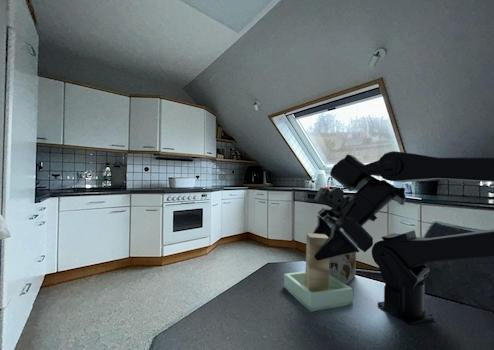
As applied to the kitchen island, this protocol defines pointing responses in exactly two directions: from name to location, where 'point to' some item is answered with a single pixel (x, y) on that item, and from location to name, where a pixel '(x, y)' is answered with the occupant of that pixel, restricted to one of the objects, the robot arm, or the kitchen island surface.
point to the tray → (319, 300)
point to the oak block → (316, 264)
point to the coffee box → (343, 267)
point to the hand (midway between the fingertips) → (311, 251)
